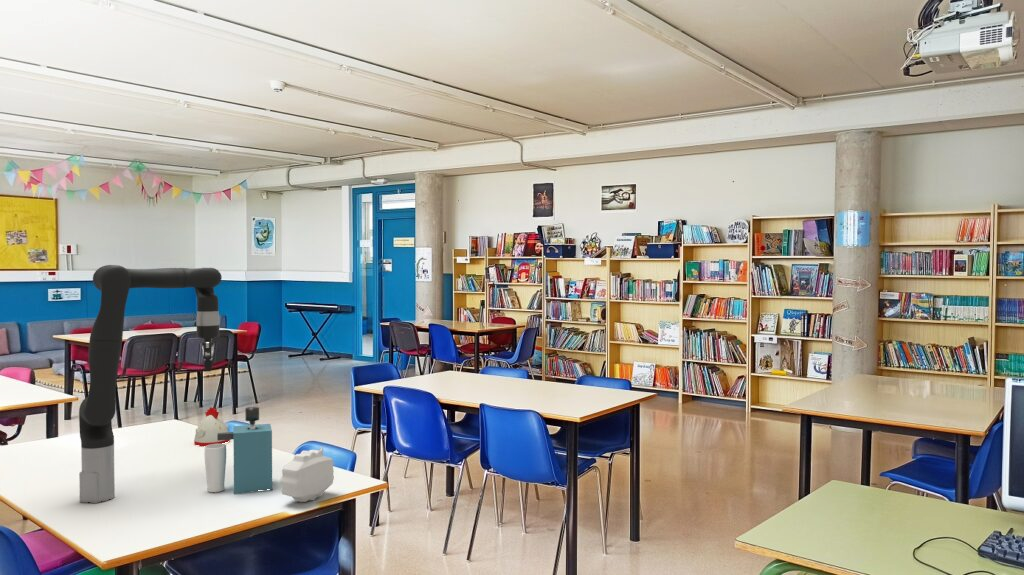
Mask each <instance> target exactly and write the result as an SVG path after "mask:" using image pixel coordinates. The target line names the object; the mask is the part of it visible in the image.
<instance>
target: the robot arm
mask: <svg viewBox="0 0 1024 575" xmlns="http://www.w3.org/2000/svg"><path fill="white" fill-rule="evenodd" d="M221 281H222V274H221V272H220V271H219V269H216V268H214V267H200V268H199V267H198V268H188V267H164V268H163V267H162V268H160V267H159V268H146V269H145V268H142V269H141V268H140V269H139V268H138V269H137V268H127V267H126V268H125V267H124V266H121V265H117V264H106V265H102V266H101V267H99V268H97V269H96V270H95V271H94V273H93V275H92V283H93V285H94V287H95V288H96V289H97V290H99V291H100V292H101V293H100V306H99V311H98V314H97V316H96V318H95V321H94V323H93V325H92V329H91V331H90V336H89V340H88V342H89V343H88V356H87V357H88V369H89V379H90V380H89V388H88V394H87V397H85V398H84V399H83V400H82V401H81V403H80V406H79V410H78V416H79V417H78V422H79V426H78V427H79V437H80V438H79V439H80V444H81V446H80V447H81V449H80V450H81V457H80V458H81V471H80V472H79V503H88V502H90V504H91V503H92V504H98V503H101V501H102V502H105V501H109V499H110V500H112V499H114V498H116V497H115V496H116V492H115V491H116V489H115V486H116V485H115V481H116V480H115V436H114V433H113V425H112V421H113V418H114V417H115V415H116V410H117V409H116V408H117V406H116V404H117V403H116V399H117V398H116V390H117V386H116V385H117V384H116V383H117V377H118V373H119V367H120V361H121V360H120V359H121V354H122V345H123V337H124V336H123V335H124V333H123V332H124V323H125V310H126V306H127V301H128V295H129V292H130V289H137V288H138V289H139V288H142V289H144V288H145V289H146V288H147V289H149V288H150V289H186V288H187V289H188V288H194V292H195V295H196V296H195V297H196V299H197V300H196V338H197V339H203V340H204V341H203V342H202V343H201V348H202V356H203V357H202V358H203V361H204V372H212V369H213V357H214V353H215V349H214V348H215V342H214V340H213V338H214V339H216V338H219V337H220V314H219V313H220V312H219V298H218V296H217V295H216V294H215V291H214V288H215V287H217V286H219V285H220V283H221Z"/></svg>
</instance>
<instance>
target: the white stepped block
mask: <svg viewBox="0 0 1024 575" xmlns="http://www.w3.org/2000/svg"><path fill="white" fill-rule="evenodd" d="M323 449H324V448H323V445H321V448H320V449H319V450H317V449H310V450H302V451H301V452H300V453H296V454H295V455H294V457H293V459H292V460H291V461H290V462H289V463H287V464H286V465H285V466H283V467H282V469H281V472H282V473H281V474H282V476H281V477H280V480H279V481H280V484H281V486H282V488H281V494H282V495H284V496H288V497H291V498H292V500H294V501H296V502H300V503H306V502H308V501H311V500H313V501H315V500H316V499H317V498H318V497H321V496H322V495H323V494H324V492H326V490H328V489H329V488H330V487H331V486H332V485H333V483H334V481H335V480H334V479H335V476H334V466H335V465H334V460H333V458H331V457H328V456H325V455H324V453H323V452H324V450H323Z"/></svg>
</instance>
